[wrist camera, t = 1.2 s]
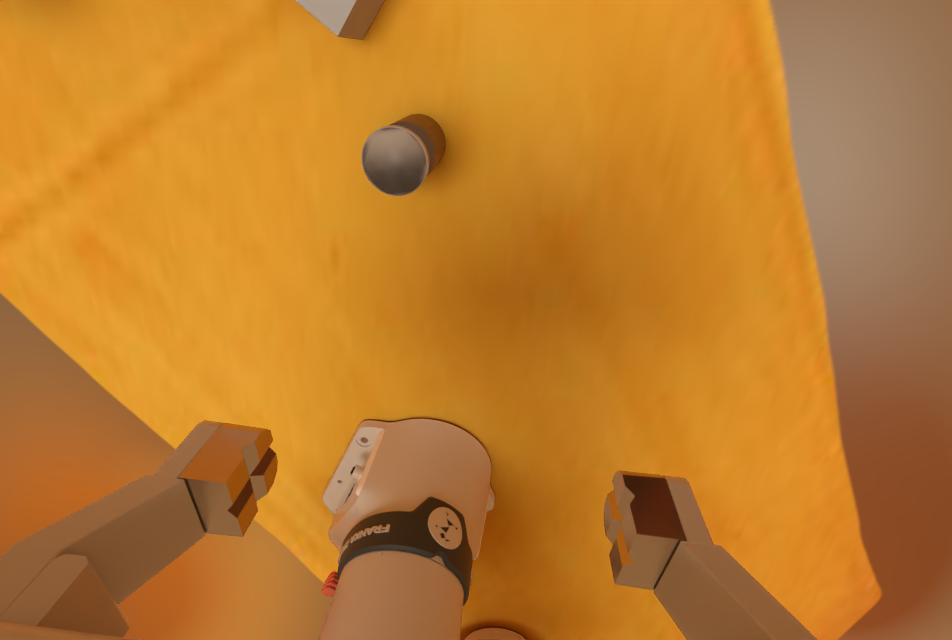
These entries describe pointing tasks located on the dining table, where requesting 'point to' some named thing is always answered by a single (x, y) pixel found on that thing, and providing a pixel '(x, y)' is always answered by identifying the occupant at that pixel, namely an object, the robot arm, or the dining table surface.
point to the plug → (403, 154)
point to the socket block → (344, 15)
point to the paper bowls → (494, 634)
